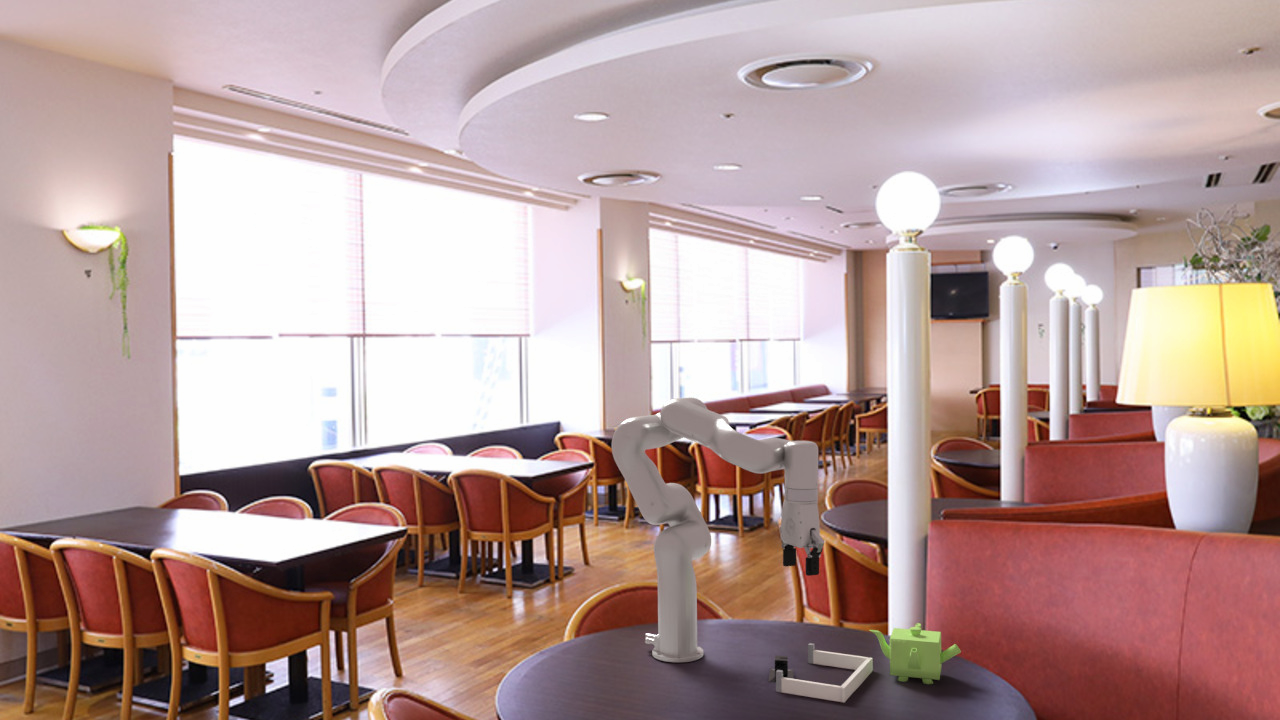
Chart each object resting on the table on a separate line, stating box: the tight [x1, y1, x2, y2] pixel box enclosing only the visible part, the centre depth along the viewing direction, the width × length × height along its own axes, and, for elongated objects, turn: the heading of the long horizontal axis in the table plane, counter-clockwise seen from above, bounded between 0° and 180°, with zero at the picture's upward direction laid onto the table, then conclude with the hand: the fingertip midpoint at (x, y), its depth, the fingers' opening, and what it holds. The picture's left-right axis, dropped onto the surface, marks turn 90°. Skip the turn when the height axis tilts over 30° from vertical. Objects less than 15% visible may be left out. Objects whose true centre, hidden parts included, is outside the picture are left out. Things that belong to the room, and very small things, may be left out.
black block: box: [768, 654, 795, 683], centre depth 219 cm, size 12×7×5 cm, turn 171°
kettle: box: [869, 622, 962, 685], centre depth 216 cm, size 15×14×11 cm
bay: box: [775, 643, 874, 703], centre depth 215 cm, size 15×23×4 cm, turn 152°
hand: (800, 570), depth 218 cm, fingers open, 9 cm apart
